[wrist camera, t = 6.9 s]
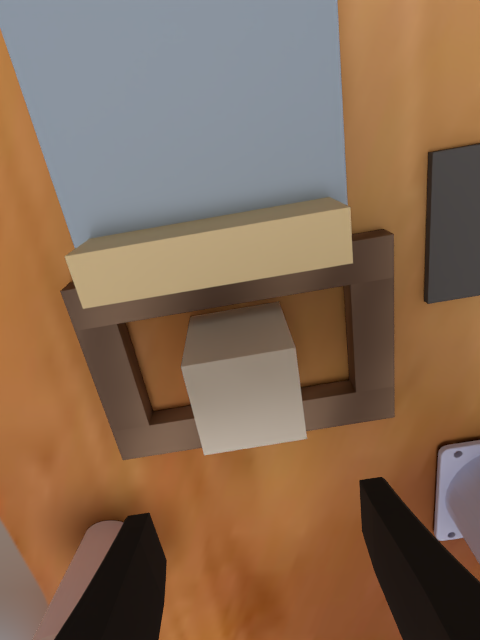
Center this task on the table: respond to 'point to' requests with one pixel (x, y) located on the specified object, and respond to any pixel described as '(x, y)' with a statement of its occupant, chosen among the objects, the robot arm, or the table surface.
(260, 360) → the block
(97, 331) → the puzzle board
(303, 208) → the cover
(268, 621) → the table surface
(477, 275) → the mat
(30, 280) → the table surface
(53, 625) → the smoothie
